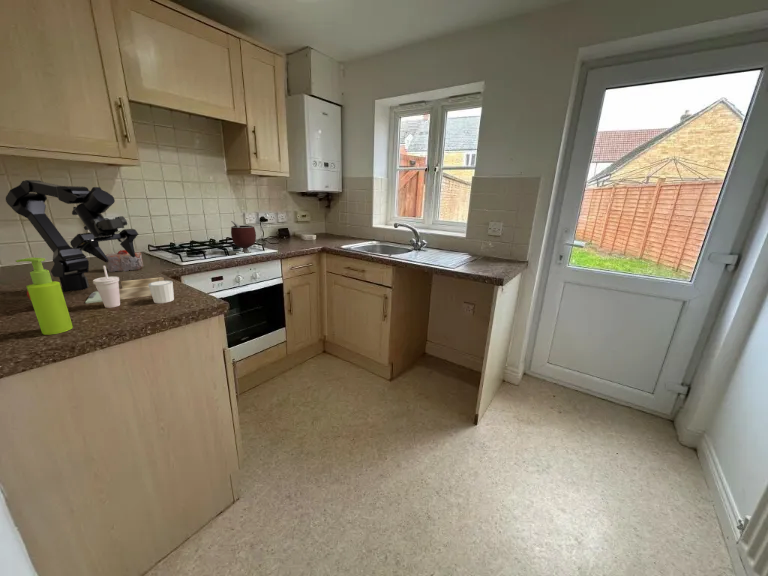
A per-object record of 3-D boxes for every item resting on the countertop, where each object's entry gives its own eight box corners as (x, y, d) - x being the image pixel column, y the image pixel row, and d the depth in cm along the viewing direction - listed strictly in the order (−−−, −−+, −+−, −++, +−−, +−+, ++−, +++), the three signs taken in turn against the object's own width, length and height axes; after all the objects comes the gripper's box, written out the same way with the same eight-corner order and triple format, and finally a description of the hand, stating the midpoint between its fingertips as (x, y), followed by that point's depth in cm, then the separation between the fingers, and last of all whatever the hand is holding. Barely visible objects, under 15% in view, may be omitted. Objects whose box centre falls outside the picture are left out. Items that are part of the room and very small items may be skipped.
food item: (146, 267, 155) (141, 247, 152) (143, 270, 149) (138, 250, 146) (111, 269, 149) (106, 249, 146) (106, 273, 142) (101, 252, 139)
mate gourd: (262, 252, 197) (259, 221, 192) (246, 256, 185) (242, 222, 179) (243, 251, 203) (240, 220, 197) (226, 254, 190) (222, 221, 184)
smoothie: (110, 311, 98) (99, 268, 94) (94, 309, 99) (83, 267, 95) (130, 304, 104) (121, 264, 100) (115, 303, 105) (105, 263, 101)
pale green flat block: (86, 304, 102) (84, 300, 102) (94, 294, 113) (93, 290, 112) (117, 300, 107) (116, 296, 106) (122, 291, 117) (121, 287, 116)
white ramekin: (180, 300, 109) (177, 281, 107) (161, 306, 103) (157, 286, 101) (166, 297, 111) (163, 279, 109) (147, 303, 105) (143, 284, 103)
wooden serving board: (118, 301, 107) (115, 290, 106) (123, 291, 117) (121, 281, 116) (163, 295, 113) (161, 285, 112) (165, 286, 124) (163, 277, 123)
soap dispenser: (52, 326, 86) (29, 256, 81) (78, 325, 87) (58, 256, 81) (31, 335, 81) (5, 260, 75) (59, 334, 81) (36, 260, 76)
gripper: (73, 209, 95) (105, 253, 97) (133, 207, 112) (159, 244, 114) (56, 227, 98) (87, 269, 100) (117, 222, 116) (142, 258, 118)
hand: (121, 259), depth 108 cm, fingers open, 9 cm apart
